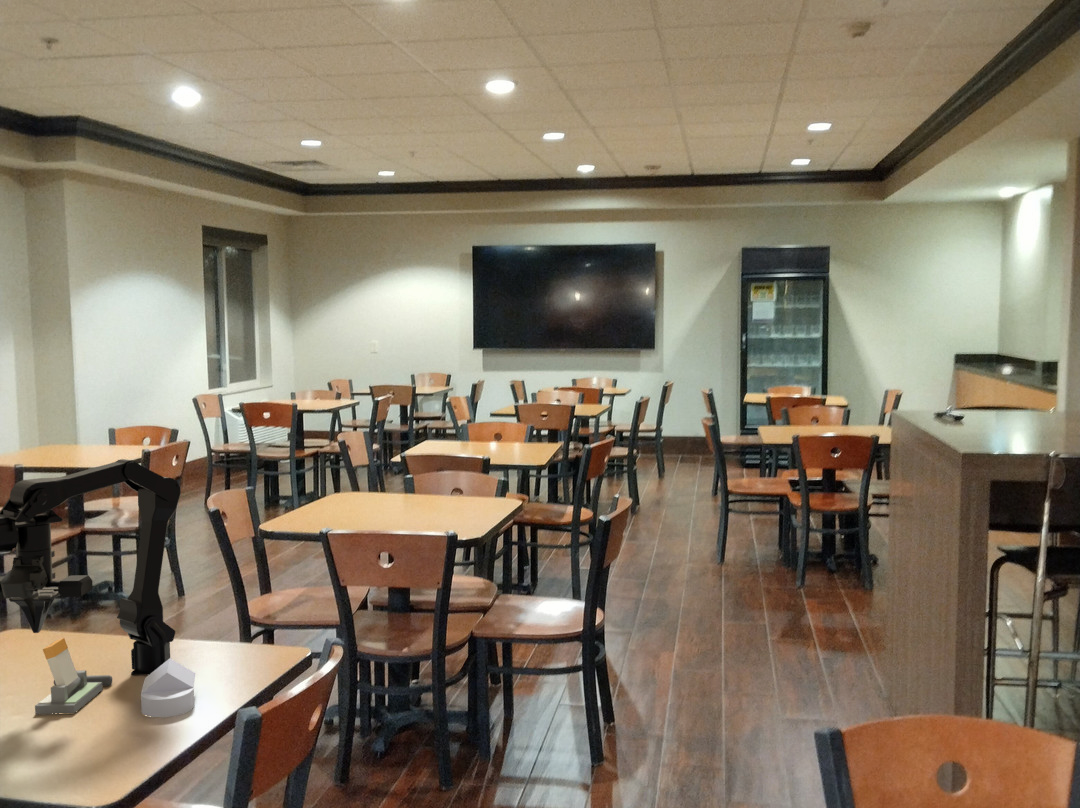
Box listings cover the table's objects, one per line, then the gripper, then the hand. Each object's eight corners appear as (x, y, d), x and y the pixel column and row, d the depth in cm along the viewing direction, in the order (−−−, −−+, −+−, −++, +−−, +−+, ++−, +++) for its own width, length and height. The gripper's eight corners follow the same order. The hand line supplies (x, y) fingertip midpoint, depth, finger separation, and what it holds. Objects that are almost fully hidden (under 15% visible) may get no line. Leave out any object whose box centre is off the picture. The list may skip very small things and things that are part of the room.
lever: (82, 684, 188) (65, 637, 188) (69, 694, 183) (51, 646, 182) (72, 687, 188) (55, 640, 188) (59, 698, 183) (41, 650, 182)
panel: (102, 690, 192) (101, 667, 191) (74, 713, 180) (73, 690, 179) (65, 690, 192) (64, 668, 191) (35, 714, 180) (34, 690, 179)
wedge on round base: (145, 695, 189) (139, 720, 176) (144, 660, 188) (137, 683, 176) (196, 690, 191) (193, 714, 179) (194, 655, 191) (191, 677, 178)
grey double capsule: (115, 681, 197) (115, 672, 197) (108, 687, 193) (108, 678, 193) (60, 681, 196) (59, 673, 196) (52, 688, 193) (51, 678, 193)
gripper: (-42, 558, 175) (-39, 646, 176) (66, 557, 176) (69, 644, 177) (-10, 546, 186) (-7, 628, 187) (92, 544, 187) (94, 627, 188)
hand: (36, 632), depth 184 cm, fingers closed
